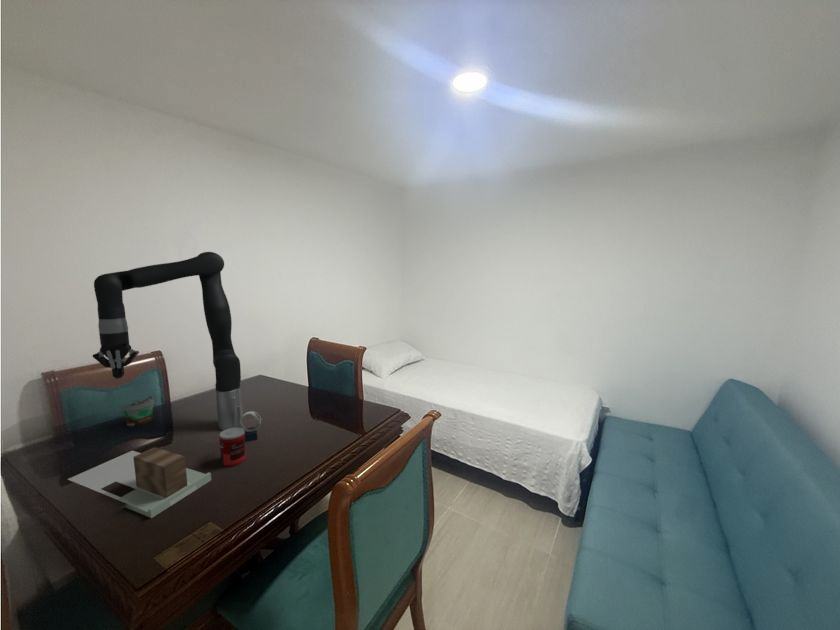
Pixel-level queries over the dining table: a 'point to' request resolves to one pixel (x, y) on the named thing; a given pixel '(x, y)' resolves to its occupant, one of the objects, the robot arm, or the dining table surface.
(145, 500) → the trap lane
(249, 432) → the watch
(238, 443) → the canned food
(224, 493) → the dining table surface
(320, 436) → the dining table surface
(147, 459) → the walnut block
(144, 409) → the food container
